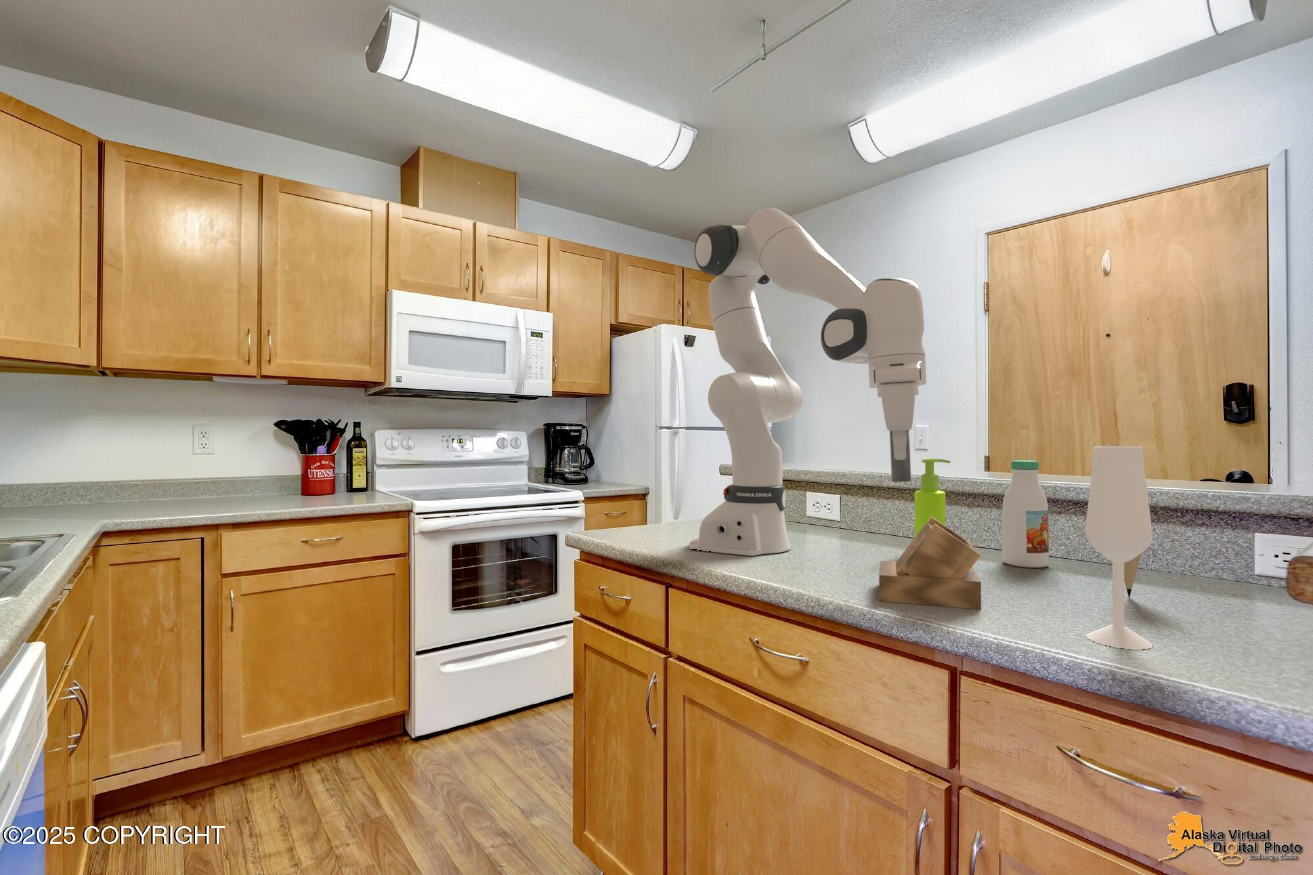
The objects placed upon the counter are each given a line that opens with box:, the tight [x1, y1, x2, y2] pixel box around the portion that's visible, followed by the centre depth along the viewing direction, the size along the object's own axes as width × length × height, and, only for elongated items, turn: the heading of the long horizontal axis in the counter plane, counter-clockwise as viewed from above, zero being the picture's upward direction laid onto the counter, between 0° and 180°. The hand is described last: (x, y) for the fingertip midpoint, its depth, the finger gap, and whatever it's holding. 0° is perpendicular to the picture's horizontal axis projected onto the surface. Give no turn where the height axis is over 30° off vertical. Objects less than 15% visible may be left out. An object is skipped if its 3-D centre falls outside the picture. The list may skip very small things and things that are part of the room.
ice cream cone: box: [1124, 524, 1153, 599], centre depth 96 cm, size 6×6×15 cm
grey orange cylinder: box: [889, 430, 912, 483], centre depth 103 cm, size 3×3×10 cm
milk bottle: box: [1001, 459, 1050, 569], centre depth 120 cm, size 8×8×20 cm
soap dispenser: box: [914, 458, 952, 538], centre depth 130 cm, size 6×7×20 cm
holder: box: [878, 517, 982, 610], centre depth 98 cm, size 14×11×12 cm
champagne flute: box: [1084, 445, 1154, 651], centre depth 77 cm, size 7×7×24 cm
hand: (900, 459), depth 103 cm, fingers closed on grey orange cylinder, 3 cm apart
